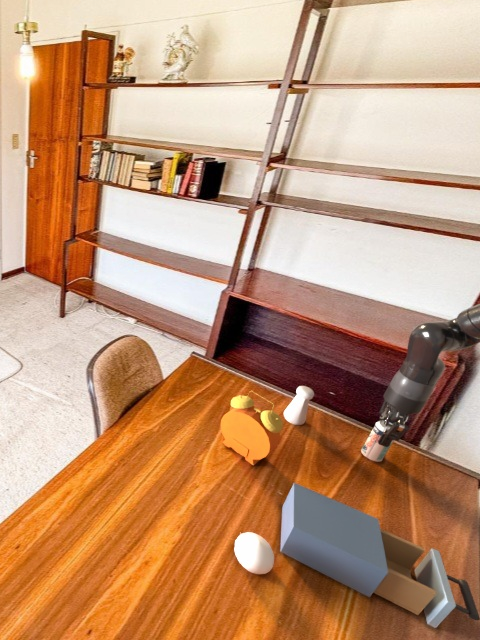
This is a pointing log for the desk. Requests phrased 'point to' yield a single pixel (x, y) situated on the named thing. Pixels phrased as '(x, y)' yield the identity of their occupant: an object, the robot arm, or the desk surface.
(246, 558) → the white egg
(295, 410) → the salt shaker
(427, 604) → the drawer
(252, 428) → the alarm clock
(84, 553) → the desk surface
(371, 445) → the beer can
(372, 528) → the cabinet
